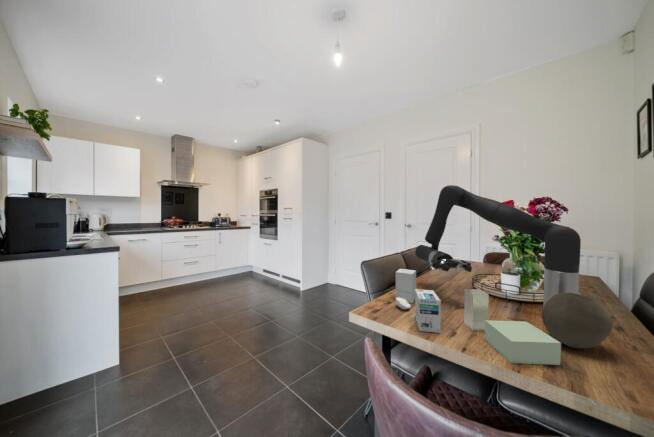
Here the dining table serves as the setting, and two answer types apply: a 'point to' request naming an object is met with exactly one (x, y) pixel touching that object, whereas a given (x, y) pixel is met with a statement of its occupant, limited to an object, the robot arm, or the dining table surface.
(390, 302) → the dining table surface
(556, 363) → the green box
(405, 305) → the dumpling
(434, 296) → the light bulb box
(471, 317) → the tea tin
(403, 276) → the supplement box
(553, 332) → the brown coconut
